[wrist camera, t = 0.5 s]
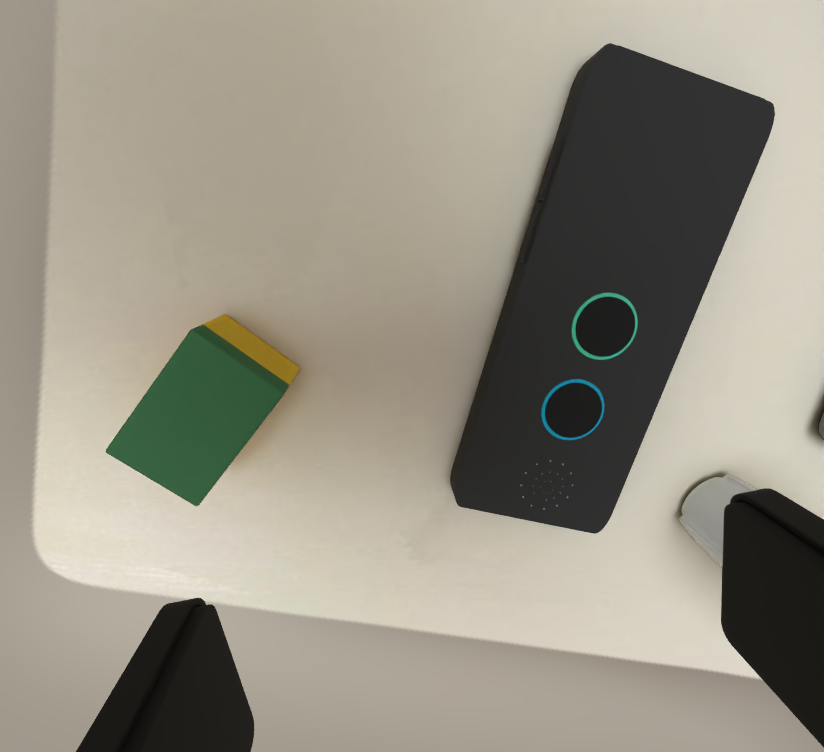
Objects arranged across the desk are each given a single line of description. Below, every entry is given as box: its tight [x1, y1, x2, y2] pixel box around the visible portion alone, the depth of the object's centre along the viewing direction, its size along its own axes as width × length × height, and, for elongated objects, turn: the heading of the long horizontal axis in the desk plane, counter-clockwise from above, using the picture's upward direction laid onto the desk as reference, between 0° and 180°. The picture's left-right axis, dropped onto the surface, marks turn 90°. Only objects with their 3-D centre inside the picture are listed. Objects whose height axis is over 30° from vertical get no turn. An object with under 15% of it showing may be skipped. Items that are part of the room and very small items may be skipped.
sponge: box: [106, 314, 300, 506], centre depth 19 cm, size 6×4×4 cm, turn 141°
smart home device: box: [451, 44, 775, 533], centre depth 21 cm, size 8×2×20 cm
